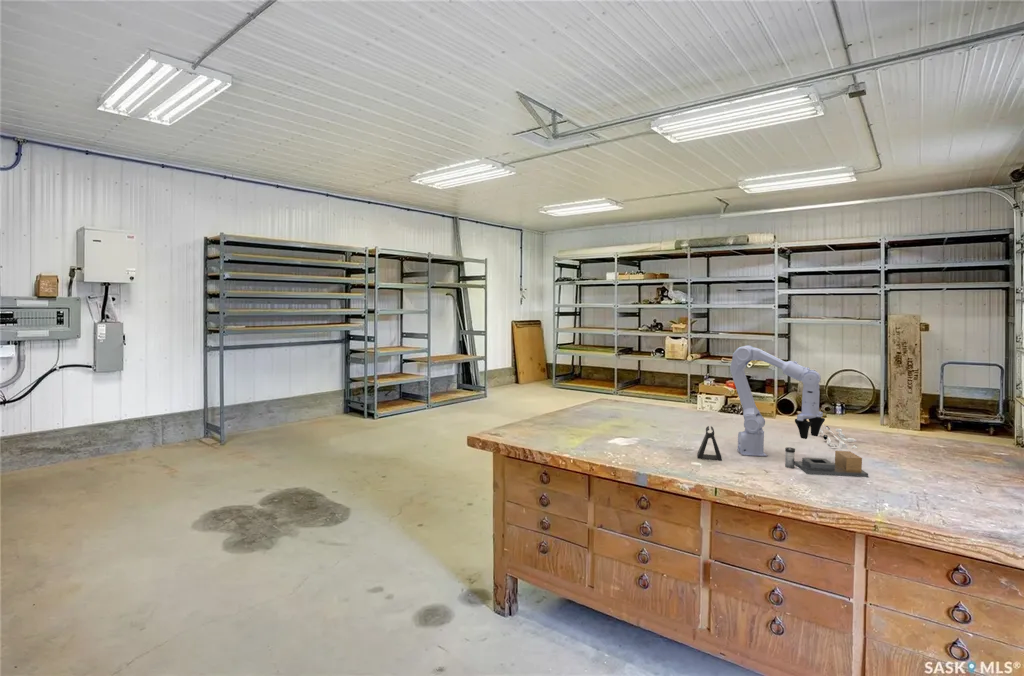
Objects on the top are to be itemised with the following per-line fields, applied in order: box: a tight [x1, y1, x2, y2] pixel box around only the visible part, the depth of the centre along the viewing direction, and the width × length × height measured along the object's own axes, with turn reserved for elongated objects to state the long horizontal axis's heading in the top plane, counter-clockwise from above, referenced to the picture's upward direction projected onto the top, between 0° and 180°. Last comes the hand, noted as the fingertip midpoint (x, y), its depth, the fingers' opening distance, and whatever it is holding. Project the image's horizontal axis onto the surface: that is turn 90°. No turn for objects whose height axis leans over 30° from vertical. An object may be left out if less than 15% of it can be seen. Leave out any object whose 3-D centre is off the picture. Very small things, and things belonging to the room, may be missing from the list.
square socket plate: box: [794, 450, 869, 478], centre depth 191 cm, size 20×12×6 cm, turn 81°
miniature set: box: [817, 424, 858, 449], centre depth 235 cm, size 6×35×12 cm
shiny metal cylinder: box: [784, 446, 796, 469], centre depth 195 cm, size 3×3×7 cm
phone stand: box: [696, 425, 723, 461], centre depth 207 cm, size 9×6×12 cm, turn 71°
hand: (809, 437), depth 201 cm, fingers open, 7 cm apart
